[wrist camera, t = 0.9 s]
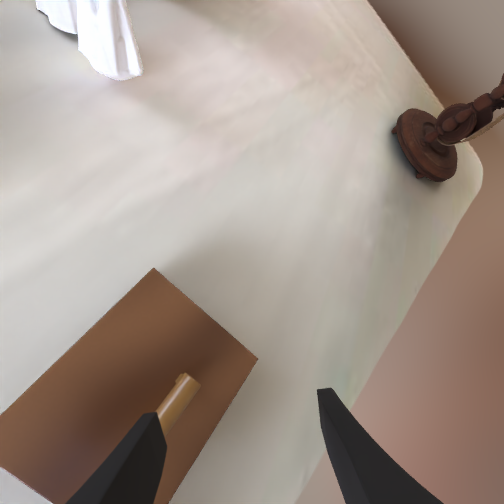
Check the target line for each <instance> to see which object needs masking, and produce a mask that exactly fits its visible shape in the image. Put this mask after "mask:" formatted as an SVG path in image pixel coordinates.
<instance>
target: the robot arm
mask: <svg viewBox="0 0 504 504" xmlns="http://www.w3.org/2000/svg"><path fill="white" fill-rule="evenodd" d="M317 395H318V404H319V413H320V422H321V429H322V432H323V436H324V440H325V444H326V448H327V452H328V455H329V458H330V461H331V463H332V466H333V469H334V472H335V475H336V477H337V480H338V483H339V486H340V489H341V491H342V494H343V496H344V500H345V503H346V504H443V503H442V502H441V501H440V500H439V499H437V498H436V497H435V496H433V495H432V494H431V493H430V492H429V491H427V490H426V489H425V488H424V487H422V486H421V485H420V484H419V483H418V482H417V481H416V480H415V479H414V478H412V477H411V476H410V475H409V474H408V473H407V472H406V471H405V470H404V469H403V468H401V467H400V466H399V465H398V464H397V463H396V462H395V461H394V460H393V459H392V458H391V457H390V456H389V455H388V454H387V453H386V452H385V451H384V450H383V449H382V448H381V447H380V446H379V445H378V444H377V443H376V442H375V441H374V439H372V438H371V436H370V435H369V434H368V433H367V432H366V431H365V430H364V428H363V427H362V426H361V425H360V424H359V423H358V421H357V420H356V419H355V418H354V417H353V415H352V414H351V413H350V412H349V410H348V409H347V408H346V407H345V405H344V404H343V403H342V401H341V400H340V399H339V397H338V396H337V394H336V393H335V391H334V390H333V389H332V388H325V389H317ZM166 452H167V444H166V440H165V437H164V434H163V431H162V427H161V424H160V421H159V417H158V414H157V412H150V413H143V415H142V416H141V417H140V418H139V419H138V421H137V422H136V423H135V424H134V426H133V427H132V428H131V429H130V430H129V432H128V433H127V434H126V435H125V437H124V438H123V439H122V440H121V441H120V443H119V444H118V445H117V446H116V448H115V449H114V450H113V451H112V452H111V453H110V455H109V456H108V457H107V458H106V459H105V461H104V462H103V463H102V464H101V465H100V466H99V467H98V469H97V470H96V471H95V472H94V473H93V474H92V475H91V476H90V478H89V479H88V480H87V481H86V482H85V483H84V484H83V485H82V486H81V488H80V489H79V490H78V491H77V492H76V493H75V494H74V495H73V496H72V497H71V498H70V499H69V500H68V501H67V502H66V503H65V504H153V503H154V500H155V497H156V493H157V490H158V487H159V483H160V480H161V477H162V472H163V468H164V463H165V458H166Z"/></svg>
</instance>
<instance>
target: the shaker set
mask: <svg viewBox="0 0 504 504" xmlns="http://www.w3.org/2000/svg"><path fill="white" fill-rule="evenodd" d="M36 5H37V8H36V9H38V10H41V11H42V12H43V13H45V14H46V15H47V16H48V17H49V22H50V23H51V25H53V26H54V27H56V28H58V29H59V30H62V31H65V32H69V33H73V34H78V44H79V48H78V50H79V51H80V52H81V53H83V54H84V55H85V56H86V57H87V58H88V59H89V60H90V62H91V65H92V67H93V68H94V69H95V70H96V71H97V72H98V73H100V74H102V75H105V76H107V77H109V78H111V79H113V80H119V81H120V80H121V81H122V80H127V79H131V78H133V77H136V76H140V75H142V74H143V72H144V70H143V66H142V61H141V58H140V54H139V50H138V46H137V42H136V38H135V34H134V30H133V26H132V22H131V19H130V15H129V11H128V8H127V4H126V1H125V0H36Z"/></svg>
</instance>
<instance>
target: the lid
mask: <svg viewBox="0 0 504 504" xmlns="http://www.w3.org/2000/svg"><path fill="white" fill-rule="evenodd" d="M257 360H258V358H257V357H256V356H255V355H253V354H252V353H251V352H250V351H249V350H248V349H247V348H245V347H244V346H243V345H242V344H241V343H240V342H239V341H237V340H236V339H235V338H234V337H233V336H232V335H231V334H229V333H228V332H227V331H226V330H225V329H224V328H222V327H221V326H220V325H219V324H218V323H217V322H216V321H214V320H213V319H212V318H211V317H210V316H209V315H208V314H206V313H205V312H204V311H203V310H202V309H201V308H200V307H198V306H197V305H196V304H195V303H194V302H193V301H192V300H190V299H189V298H188V297H187V296H186V295H185V294H183V293H182V292H181V291H180V290H179V289H178V288H177V287H175V286H174V285H173V284H172V283H171V282H170V281H169V280H167V279H166V278H165V277H164V276H163V275H162V274H161V273H159V272H158V271H157V270H156V269H155V268H153V269H152V270H151V271H149V272H148V273H147V274H146V275H145V276H144V277H143V278H142V279H141V280H140V281H139V282H138V283H137V284H136V285H135V286H134V287H133V288H132V289H131V290H130V291H129V292H128V293H127V294H126V295H125V296H124V297H123V298H122V299H120V300H119V301H118V302H117V303H116V304H115V305H114V306H113V307H112V308H111V309H110V310H109V311H108V312H107V313H106V314H105V315H104V316H103V317H102V318H101V319H100V320H99V321H98V322H97V323H96V324H95V325H94V326H93V327H91V328H90V329H89V330H88V331H87V332H86V333H85V334H84V335H83V336H82V337H81V338H80V339H79V340H78V341H77V342H76V343H75V344H74V345H73V346H72V347H71V348H70V349H69V350H68V351H67V352H66V353H65V354H64V355H62V356H61V357H60V358H59V359H58V360H57V361H56V362H55V363H54V364H53V365H52V366H51V367H50V368H49V369H48V370H47V371H46V372H45V373H44V374H43V375H42V376H41V377H40V378H39V379H38V380H37V381H36V382H35V383H34V384H32V385H31V386H30V387H29V388H28V389H27V390H26V391H25V392H24V393H23V394H22V395H21V396H20V397H19V398H18V399H17V400H16V401H15V402H14V403H13V404H12V405H11V406H10V407H9V408H8V409H7V410H6V411H5V412H3V413H2V414H1V415H0V467H1V468H2V469H3V470H5V471H6V472H8V473H9V474H11V475H12V476H14V477H15V478H16V479H18V480H19V481H21V482H22V483H24V484H25V485H27V486H28V487H30V488H31V489H32V490H34V491H35V492H37V493H38V494H40V495H41V496H43V497H44V498H46V499H47V500H48V501H50V502H51V503H53V504H65V503H66V502H67V501H68V500H69V499H70V498H71V497H72V496H73V495H74V494H75V493H76V492H77V491H78V490H79V489H80V488H81V486H82V485H83V484H84V483H85V482H86V481H87V480H88V479H89V478H90V476H91V475H92V474H93V473H94V472H95V471H96V470H97V469H98V467H99V466H100V465H101V464H102V463H103V462H104V461H105V459H106V458H107V457H108V456H109V455H110V453H111V452H112V451H113V450H114V449H115V448H116V446H117V445H118V444H119V443H120V441H121V440H122V439H123V438H124V437H125V435H126V434H127V433H128V432H129V430H130V429H131V428H132V427H133V426H134V424H135V423H136V422H137V421H138V419H139V418H140V417H141V416H142V415H143V413H150V412H157V414H158V417H159V421H160V424H161V427H162V431H163V434H164V437H165V440H166V444H167V452H166V458H165V463H164V468H163V472H162V477H161V480H160V483H159V487H158V490H157V493H156V497H155V500H154V503H153V504H168V503H169V501H170V500H171V498H172V497H173V495H174V493H175V492H176V490H177V488H178V487H179V485H180V484H181V482H182V480H183V479H184V477H185V476H186V474H187V472H188V471H189V469H190V468H191V466H192V464H193V463H194V461H195V460H196V458H197V456H198V455H199V453H200V452H201V450H202V448H203V447H204V445H205V444H206V442H207V440H208V439H209V437H210V436H211V434H212V432H213V431H214V429H215V428H216V426H217V424H218V423H219V421H220V420H221V418H222V416H223V415H224V413H225V412H226V410H227V408H228V407H229V405H230V404H231V402H232V400H233V399H234V397H235V396H236V394H237V392H238V391H239V389H240V388H241V386H242V384H243V383H244V381H245V380H246V378H247V376H248V375H249V373H250V372H251V370H252V368H253V367H254V365H255V364H256V362H257Z"/></svg>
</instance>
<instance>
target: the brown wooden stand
mask: <svg viewBox="0 0 504 504" xmlns="http://www.w3.org/2000/svg"><path fill="white" fill-rule="evenodd" d="M501 107H502V108H504V74H503V76H502V80H501V81H500V83H499V86H498V87H496V88H495V89H494V90H493V91H492V92H491V94H489V93H485V94H483V95H481V96H480V97H478V98H477V99H476V100H475V101H474V102H471V103H468V104H454V105H451V106H449V107H447V108H446V109H445V110H443V111H442V112H441V113H440V115H439V116H438V118H437V119H436V118H435V117H433V116H432V115H431V114H429V113H427V112H425V111H421V110H419V109H408V110H407V111H405V112H404V113H403V114H401V115H400V116H399V118H398V120H397V125H396V126H395V127H394V128H393V130H392V133H393V134H394V133H397V136H398V140H399V143H400V145H401V147H402V150H403V152H404V153H405V155H406V157H407V158H408V160H409V161H410V162H411V164H412V165H413V166H414V167H415V168H416V169H417V170H418V171H419V173H418V174H417V175H416V178H422V177H427V178H428V179H430V180H433V181H436V182H443V181H445V180H447V179H449V178H451V177H452V176H453V175H454V174H455V172H456V169H457V152H456V148H455V144H458V143H462V142H466V141H469V140H472V139H474V138H476V137H478V136H480V135H482V134H483V133H485V132H486V131H487V130H489V129H490V128H492V127H493V126H494V125H496V124H497V123H498V122H500V121H501V120H502V119H504V113H503V114H502V115H501V116H499V117H498V118H496V119H495V120H494V121H492V118H493V112H494V111H495V110H496V109H501ZM491 121H492V122H491ZM464 138H466V139H465V140H463V141H460V140H462V139H464Z"/></svg>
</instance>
